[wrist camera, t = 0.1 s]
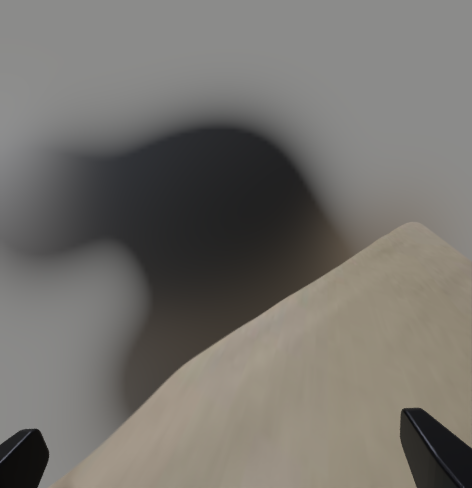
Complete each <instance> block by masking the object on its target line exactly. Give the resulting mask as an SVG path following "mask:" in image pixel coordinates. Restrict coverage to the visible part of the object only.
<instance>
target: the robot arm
mask: <svg viewBox="0 0 472 488" xmlns="http://www.w3.org/2000/svg"><path fill="white" fill-rule="evenodd" d="M400 439H401V444H402V447H403V450H404V453H405V456H406V458H407V461H408V464H409V467H410V470H411V472H412V475H413V478H414V481H415V484H416V486H417V488H472V448H470V447H469V446H468V445H467V444H465V443H464V442H463V441H462V440H460V439H459V438H458V437H457V436H456V435H454V434H453V433H452V432H451V431H449V430H448V429H447V428H446V427H444V426H443V425H442V424H441V423H439V422H438V421H437V420H436V419H434V418H433V417H432V416H431V415H429V414H428V413H427V412H426V411H424V410H423V409H421V408H404V409H402V411H401V421H400ZM48 459H49V450H48V448H47V446H46V443H45V441H44V439H43V436H42V434H41V432H40V431H39V430H38V429H24V430H21V431H19V432H17V433H16V434H15V435H13V436H12V437H10V438H9V439H8V440H6V441H5V442H3V443H2V444H1V445H0V488H37V487H38V485H39V483H40V480H41V478H42V475H43V473H44V470H45V468H46V466H47V463H48Z"/></svg>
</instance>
